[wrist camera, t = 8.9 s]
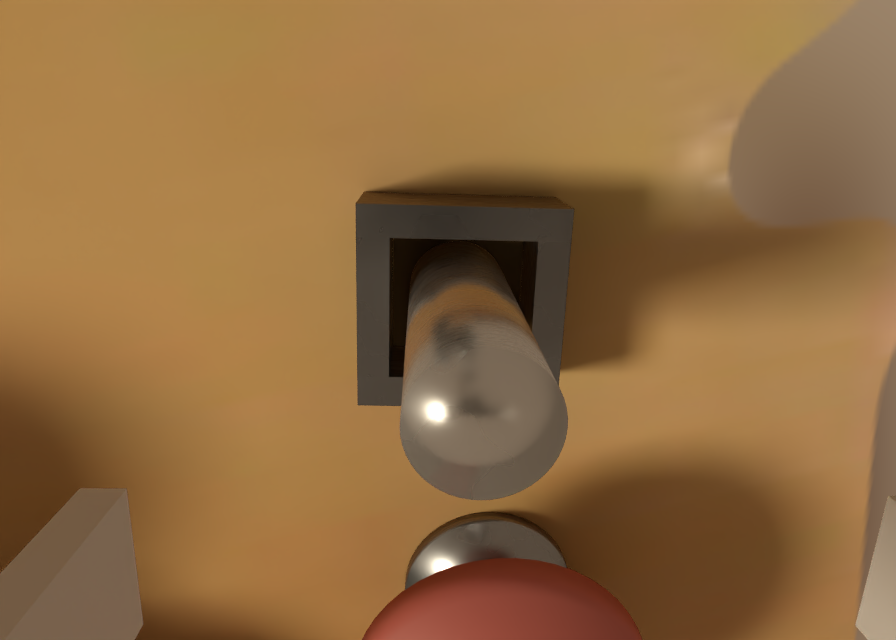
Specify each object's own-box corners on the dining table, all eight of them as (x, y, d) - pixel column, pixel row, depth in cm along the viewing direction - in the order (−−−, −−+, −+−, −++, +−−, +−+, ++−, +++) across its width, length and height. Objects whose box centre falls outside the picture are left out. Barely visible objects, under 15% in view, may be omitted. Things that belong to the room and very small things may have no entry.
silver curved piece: (406, 511, 31) (402, 595, 26) (574, 512, 32) (605, 596, 26) (404, 648, 34) (400, 751, 28) (560, 647, 34) (586, 749, 29)
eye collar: (364, 191, 27) (355, 203, 23) (555, 197, 27) (573, 209, 24) (365, 371, 29) (357, 405, 26) (541, 374, 29) (556, 408, 26)
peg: (410, 239, 27) (400, 345, 15) (506, 241, 28) (575, 349, 15) (409, 331, 29) (399, 499, 16) (501, 332, 29) (560, 500, 16)
